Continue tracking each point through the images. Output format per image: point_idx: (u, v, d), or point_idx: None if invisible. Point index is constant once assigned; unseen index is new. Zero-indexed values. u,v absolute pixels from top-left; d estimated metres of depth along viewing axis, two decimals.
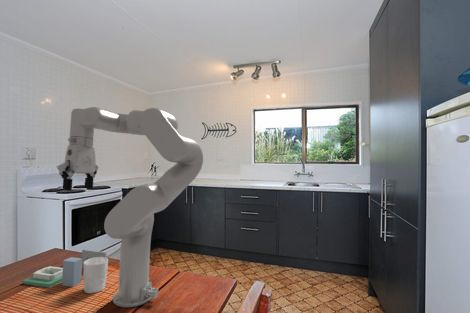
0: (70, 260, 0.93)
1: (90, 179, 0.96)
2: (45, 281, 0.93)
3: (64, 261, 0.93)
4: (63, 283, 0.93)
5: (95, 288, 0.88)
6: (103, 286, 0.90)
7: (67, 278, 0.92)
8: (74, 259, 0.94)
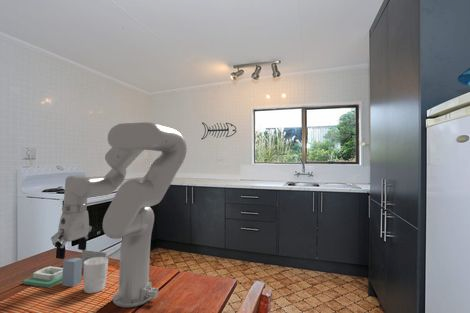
0: (70, 260, 0.93)
1: (83, 241, 0.99)
2: (45, 281, 0.93)
3: (64, 261, 0.93)
4: (63, 283, 0.93)
5: (95, 288, 0.88)
6: (103, 286, 0.90)
7: (67, 278, 0.92)
8: (74, 259, 0.94)
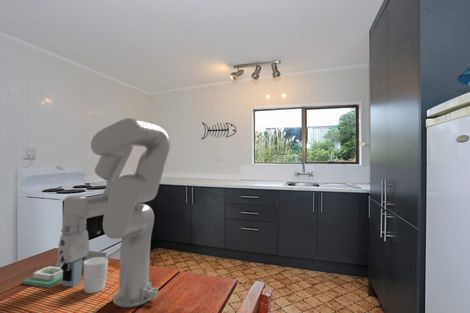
0: None
1: None
2: (45, 281, 0.93)
3: None
4: (63, 283, 0.93)
5: (95, 288, 0.88)
6: (103, 286, 0.90)
7: None
8: None
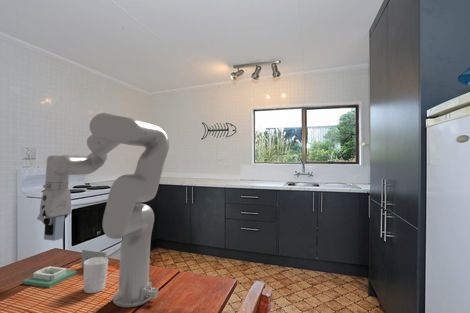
0: None
1: None
2: (45, 281, 0.93)
3: None
4: (45, 237, 0.97)
5: (95, 288, 0.88)
6: (103, 286, 0.90)
7: None
8: None
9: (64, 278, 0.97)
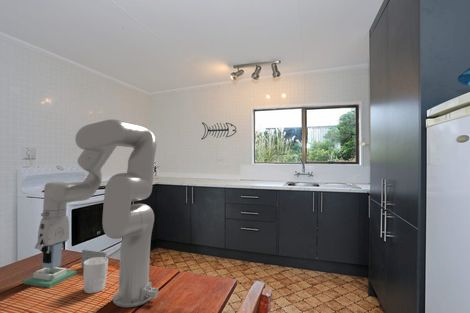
0: None
1: None
2: (45, 281, 0.93)
3: None
4: (43, 265, 0.97)
5: (95, 288, 0.88)
6: (103, 286, 0.90)
7: None
8: None
9: (64, 278, 0.97)
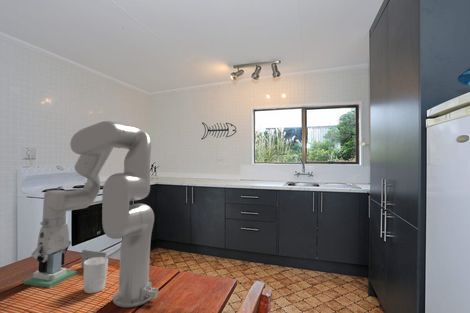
0: None
1: None
2: (45, 281, 0.93)
3: None
4: None
5: (95, 288, 0.88)
6: (103, 286, 0.90)
7: None
8: None
9: (64, 278, 0.97)
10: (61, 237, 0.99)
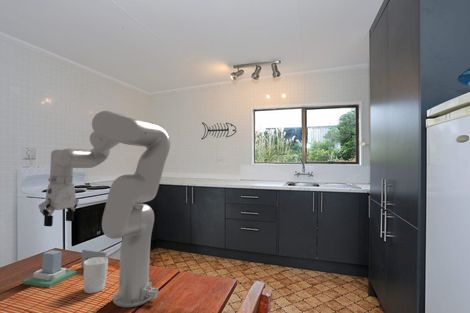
0: (50, 253, 0.97)
1: (70, 213, 1.04)
2: (45, 281, 0.93)
3: (44, 254, 0.97)
4: None
5: (95, 288, 0.88)
6: (103, 286, 0.90)
7: (46, 270, 0.96)
8: (54, 252, 0.98)
9: (64, 278, 0.97)
10: (68, 195, 1.01)
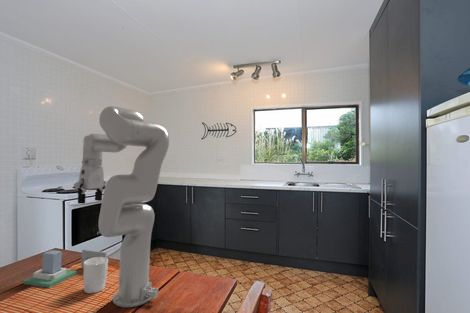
0: (50, 253, 0.97)
1: (99, 193, 1.16)
2: (45, 281, 0.93)
3: (44, 254, 0.97)
4: None
5: (95, 288, 0.88)
6: (103, 286, 0.90)
7: (46, 270, 0.96)
8: (54, 252, 0.98)
9: (64, 278, 0.97)
10: (98, 177, 1.12)
